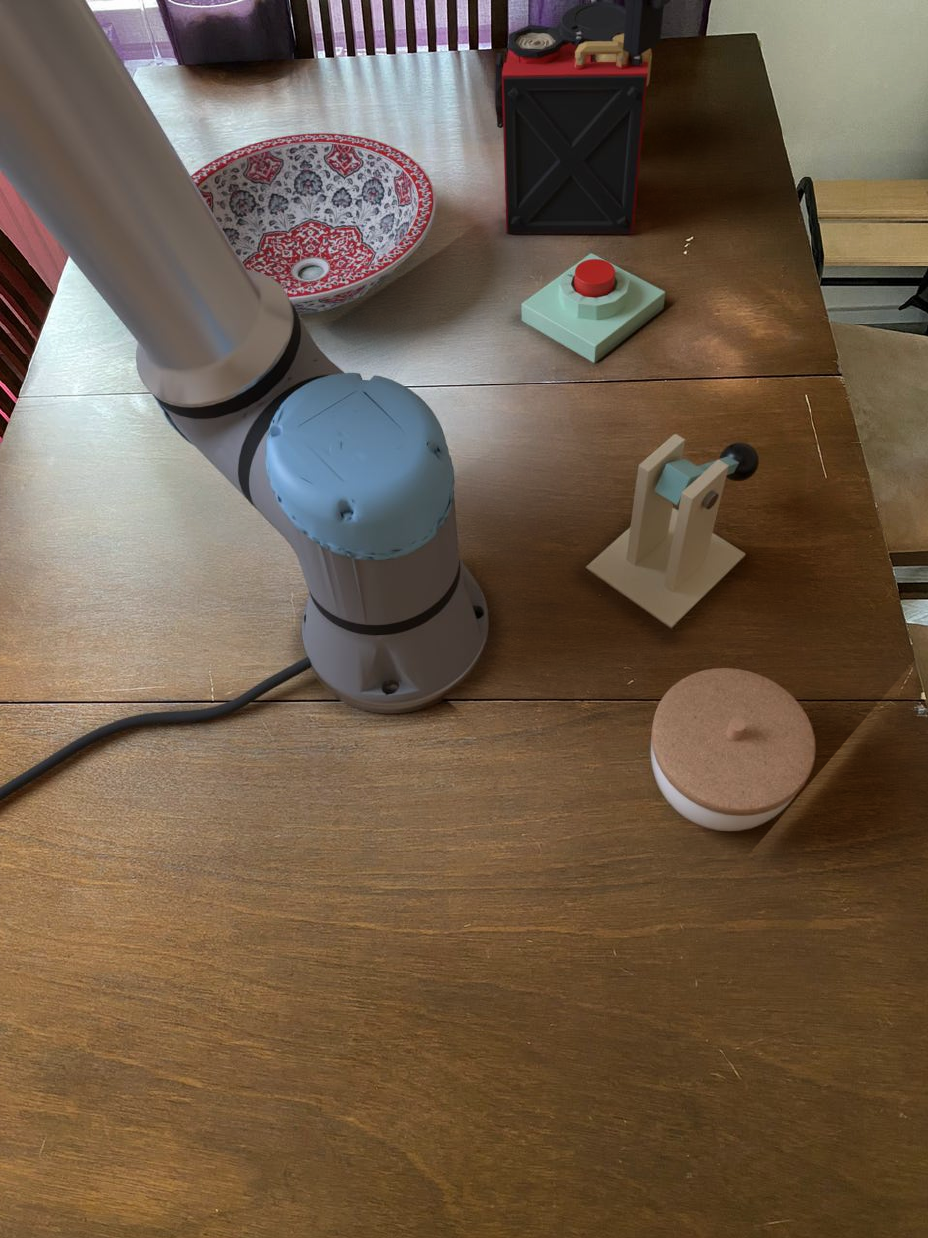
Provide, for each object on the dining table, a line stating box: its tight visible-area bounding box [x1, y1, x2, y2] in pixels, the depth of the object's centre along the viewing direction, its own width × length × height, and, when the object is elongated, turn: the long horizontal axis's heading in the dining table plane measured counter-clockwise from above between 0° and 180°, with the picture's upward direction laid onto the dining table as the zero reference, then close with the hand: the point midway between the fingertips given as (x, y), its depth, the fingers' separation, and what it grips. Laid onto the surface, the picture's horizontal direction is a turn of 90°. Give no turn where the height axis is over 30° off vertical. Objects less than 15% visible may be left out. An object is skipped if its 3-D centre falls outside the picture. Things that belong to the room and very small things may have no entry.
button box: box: [520, 252, 666, 364], centre depth 99 cm, size 11×10×4 cm
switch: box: [654, 441, 760, 506], centre depth 77 cm, size 13×3×3 cm, turn 135°
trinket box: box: [650, 667, 817, 832], centre depth 67 cm, size 11×11×9 cm
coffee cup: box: [555, 1, 626, 62], centre depth 112 cm, size 9×9×15 cm
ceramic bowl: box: [190, 132, 437, 315], centre depth 104 cm, size 29×29×8 cm
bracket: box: [585, 433, 746, 629], centre depth 77 cm, size 10×9×13 cm
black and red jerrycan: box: [493, 24, 653, 235], centre depth 103 cm, size 16×10×20 cm, turn 84°
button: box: [574, 259, 615, 298], centre depth 97 cm, size 4×4×2 cm
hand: (641, 45), depth 75 cm, fingers closed
